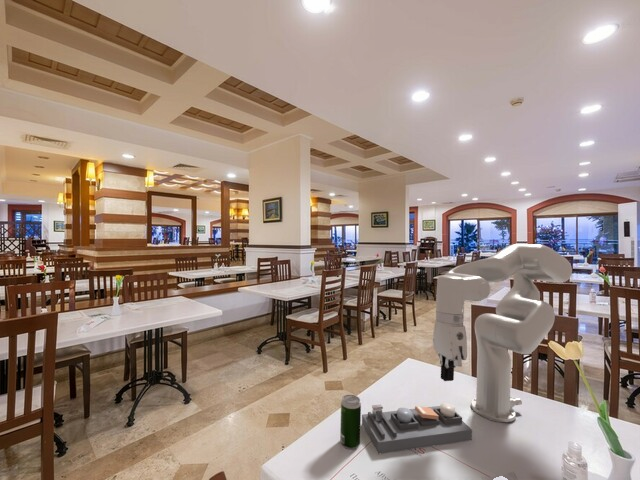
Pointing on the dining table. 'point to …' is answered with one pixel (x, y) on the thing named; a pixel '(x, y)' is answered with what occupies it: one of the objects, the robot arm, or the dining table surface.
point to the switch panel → (414, 431)
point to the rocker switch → (426, 412)
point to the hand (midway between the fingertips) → (447, 379)
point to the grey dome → (404, 415)
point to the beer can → (350, 422)
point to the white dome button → (447, 410)
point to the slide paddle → (377, 412)
